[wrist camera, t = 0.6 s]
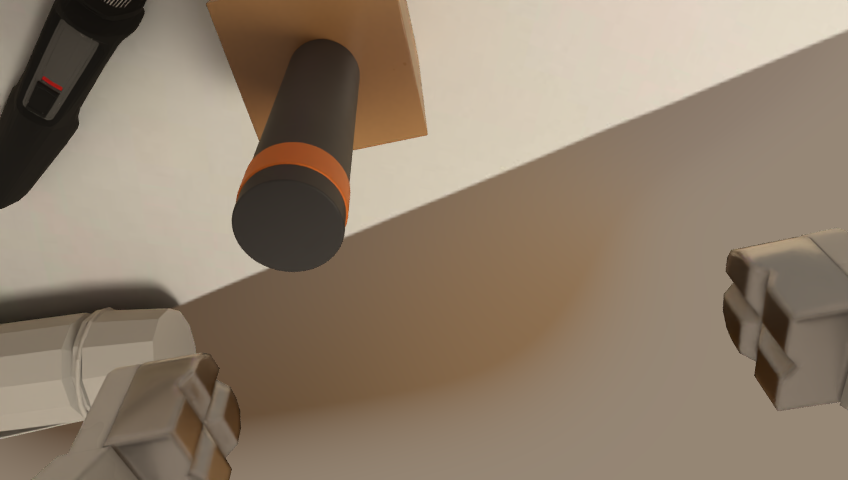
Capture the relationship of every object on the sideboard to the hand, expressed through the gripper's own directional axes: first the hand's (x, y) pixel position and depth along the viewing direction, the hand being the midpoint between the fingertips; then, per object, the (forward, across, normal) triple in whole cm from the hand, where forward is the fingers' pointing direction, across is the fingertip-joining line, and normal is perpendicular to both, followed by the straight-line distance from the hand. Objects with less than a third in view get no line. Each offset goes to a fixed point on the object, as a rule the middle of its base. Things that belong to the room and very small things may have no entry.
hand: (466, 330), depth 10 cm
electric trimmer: (+27, +20, +2) cm, 34 cm away
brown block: (+27, +4, +1) cm, 27 cm away
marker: (+17, +4, +1) cm, 18 cm away
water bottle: (+23, +46, +18) cm, 54 cm away
